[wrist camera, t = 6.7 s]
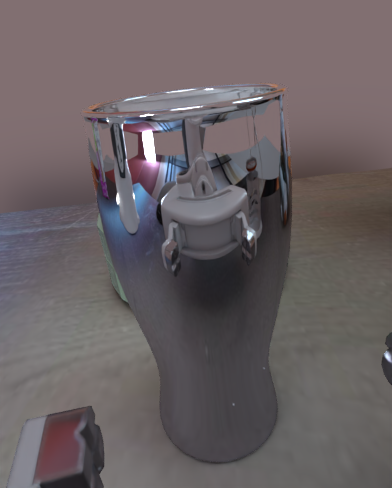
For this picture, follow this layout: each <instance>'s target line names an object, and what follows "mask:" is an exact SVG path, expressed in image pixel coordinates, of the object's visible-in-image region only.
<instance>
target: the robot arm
mask: <svg viewBox="0 0 392 488" xmlns="http://www.w3.org/2000/svg"><path fill="white" fill-rule="evenodd" d="M385 344H386V345H387V347H388V348H389V349H388V350H387V351H386V352H385V353H384V354H383V357H382V364H381V365H382V368H383V372H384V375H385V377H386V378H387V380H388V382H389V383H390V384H391V385H392V332H391V333H390V334H389V335H388V336H387V337H386V342H385ZM103 468H104V443H103V437H102V433H101V430H100V427H99V426H98V425H96V424H95V413H94V411H93V408H92V406H87V407H82V408H77V409H73V410H68V411H63V412H59V413H54V414H49V415H46V416H41V417H37V418H32V419H28V420H26V422H25V424H24V425H23V427H22V430H21V434H20V438H19V441H18V445H17V449H16V453H15V456H14V460H13V464H12V468H11V471H10V475H9V479H8V483H7V486H6V488H104V485H103V483H102V480H101V478H100V475H99V474H100V473H101V471H102V469H103Z"/></svg>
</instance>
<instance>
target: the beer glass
mask: <svg viewBox="0 0 392 488" xmlns="http://www.w3.org/2000/svg"><path fill="white" fill-rule="evenodd" d="M287 92H288V88H287V86H285V85H282V84H273V83H252V84H232V85H219V86H208V87H198V88H188V89H180V90H172V91H165V92H157V93H150V94H144V95H137V96H132V97H126V98H121V99H116V100H111V101H106V102H102V103H98V104H94V105H91V106H88V107H86V108H84V109H83V110H82V111H81V116H82V118H83V122H84V126H85V132H86V138H87V144H88V150H89V156H90V163H91V170H92V176H93V182H94V187H95V193H96V199H97V204H98V209H99V213H100V218H101V222H102V227H103V231H104V236H105V239H106V242H107V246H108V249H109V253H110V256H111V260H112V263H113V266H114V269H115V272H116V274H117V277H118V279H119V282H120V284H121V287H122V289H123V291H124V294H125V296H126V299H127V301H128V303H129V305H130V307H131V309H132V311H133V313H134V316H135V318H136V320H137V322H138V324H139V326H140V328H141V330H142V332H143V334H144V336H145V338H146V340H147V342H148V344H149V346H150V349H151V351H152V353H153V355H154V358H155V360H156V363H157V367H158V370H159V376H160V400H159V407H160V417H161V422H162V425H163V428H164V430H165V432H166V434H167V436H168V437H169V439H170V440H171V441H172V443H173V444H174V445H175V446H176V447H177V448H178V449H180V450H181V451H182V452H184V453H185V454H187V455H189V456H191V457H193V458H196V459H199V460H202V461H207V462H229V461H234V460H237V459H240V458H243V457H245V456H247V455H249V454H251V453H252V452H254V451H255V450H257V449H258V448H259V447H260V446H261V445H262V444H263V443H264V442H265V441H266V440H267V439H268V437H269V436H270V434H271V432H272V430H273V428H274V426H275V423H276V419H277V412H278V404H277V396H276V391H275V387H274V383H273V380H272V376H271V372H270V368H269V348H270V343H271V338H272V333H273V329H274V325H275V321H276V317H277V312H278V308H279V304H280V299H281V295H282V291H283V286H284V282H285V276H286V270H287V264H288V258H289V252H290V241H291V224H292V173H291V155H290V140H289V125H288V108H287Z"/></svg>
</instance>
